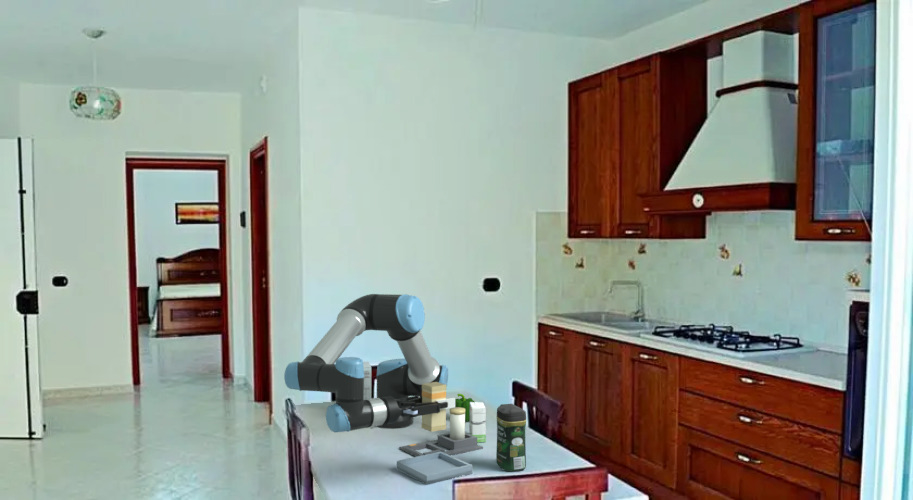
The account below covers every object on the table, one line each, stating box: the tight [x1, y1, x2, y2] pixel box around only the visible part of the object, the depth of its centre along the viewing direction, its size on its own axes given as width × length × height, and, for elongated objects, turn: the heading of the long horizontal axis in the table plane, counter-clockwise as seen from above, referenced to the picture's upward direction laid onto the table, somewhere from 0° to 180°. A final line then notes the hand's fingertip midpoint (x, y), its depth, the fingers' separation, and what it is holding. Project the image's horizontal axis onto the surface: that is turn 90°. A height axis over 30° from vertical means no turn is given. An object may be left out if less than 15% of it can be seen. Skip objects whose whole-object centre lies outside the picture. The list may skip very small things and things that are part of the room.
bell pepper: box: [455, 393, 475, 422], centre depth 268 cm, size 8×8×10 cm
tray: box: [396, 452, 473, 486], centre depth 210 cm, size 16×16×2 cm
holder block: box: [398, 432, 484, 457], centre depth 232 cm, size 15×22×3 cm
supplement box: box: [363, 361, 372, 400], centre depth 285 cm, size 13×13×18 cm
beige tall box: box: [421, 382, 448, 433], centre depth 209 cm, size 5×5×13 cm
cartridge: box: [449, 407, 466, 440], centre depth 236 cm, size 5×5×12 cm
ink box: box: [468, 401, 487, 443], centre depth 243 cm, size 9×5×12 cm, turn 5°
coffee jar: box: [495, 403, 527, 472], centre depth 214 cm, size 10×8×19 cm
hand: (448, 400), depth 212 cm, fingers closed on beige tall box, 5 cm apart
